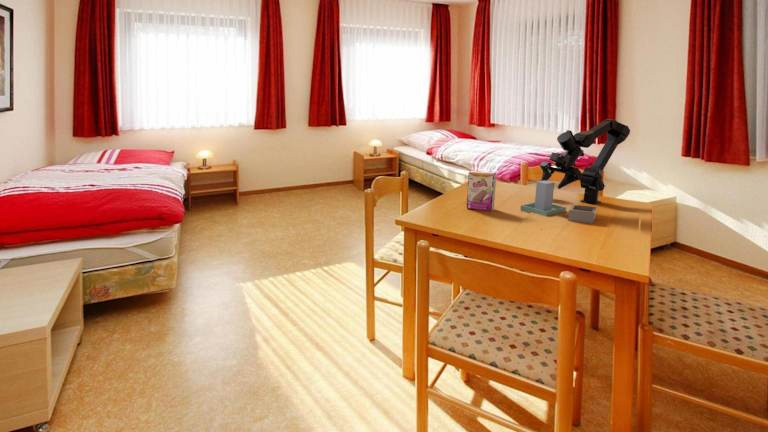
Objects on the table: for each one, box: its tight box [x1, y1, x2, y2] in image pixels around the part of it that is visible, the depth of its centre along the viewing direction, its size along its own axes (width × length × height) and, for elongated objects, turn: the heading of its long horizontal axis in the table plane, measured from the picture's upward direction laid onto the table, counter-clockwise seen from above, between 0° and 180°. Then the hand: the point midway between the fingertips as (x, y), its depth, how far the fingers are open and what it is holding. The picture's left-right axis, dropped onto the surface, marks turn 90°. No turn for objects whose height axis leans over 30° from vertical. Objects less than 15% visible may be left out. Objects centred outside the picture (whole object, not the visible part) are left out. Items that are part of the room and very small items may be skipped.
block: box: [534, 180, 555, 211], centre depth 196 cm, size 5×5×12 cm
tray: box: [520, 201, 567, 217], centre depth 198 cm, size 13×13×2 cm
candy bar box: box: [466, 170, 497, 212], centre depth 200 cm, size 11×5×16 cm, turn 65°
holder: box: [567, 204, 597, 224], centre depth 184 cm, size 9×9×5 cm
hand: (549, 186), depth 197 cm, fingers open, 9 cm apart
